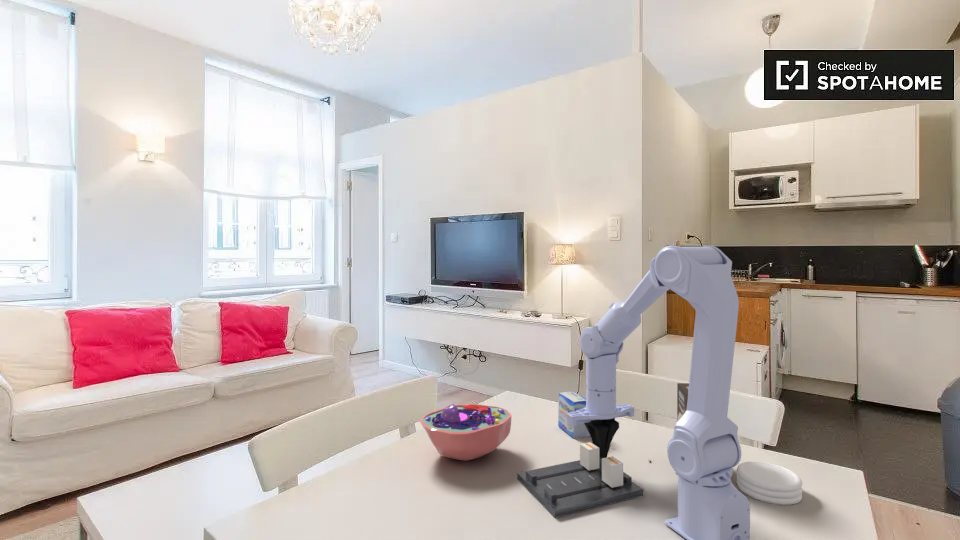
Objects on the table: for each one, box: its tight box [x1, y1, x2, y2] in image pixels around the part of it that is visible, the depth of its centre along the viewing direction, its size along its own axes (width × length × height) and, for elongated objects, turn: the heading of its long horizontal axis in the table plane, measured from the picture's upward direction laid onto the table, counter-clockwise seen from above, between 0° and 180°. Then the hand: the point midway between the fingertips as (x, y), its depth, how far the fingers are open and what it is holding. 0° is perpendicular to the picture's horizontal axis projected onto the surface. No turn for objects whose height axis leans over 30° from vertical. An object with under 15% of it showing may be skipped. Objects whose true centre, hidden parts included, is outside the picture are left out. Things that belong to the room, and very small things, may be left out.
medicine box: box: [557, 391, 590, 439], centre depth 110 cm, size 8×4×9 cm, turn 17°
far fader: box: [579, 441, 599, 471], centre depth 89 cm, size 3×2×4 cm
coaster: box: [736, 460, 803, 506], centre depth 82 cm, size 10×10×4 cm
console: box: [516, 458, 645, 519], centre depth 84 cm, size 14×18×2 cm
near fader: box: [602, 456, 624, 488], centre depth 82 cm, size 3×2×4 cm
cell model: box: [419, 403, 512, 462], centre depth 98 cm, size 17×20×11 cm
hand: (601, 456), depth 90 cm, fingers closed
